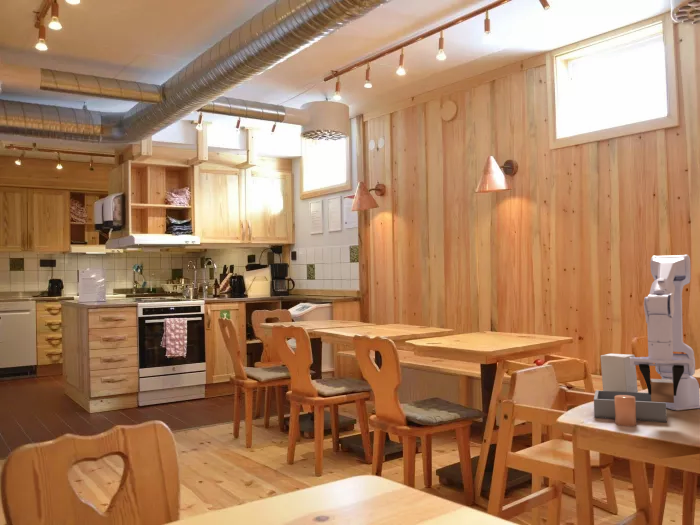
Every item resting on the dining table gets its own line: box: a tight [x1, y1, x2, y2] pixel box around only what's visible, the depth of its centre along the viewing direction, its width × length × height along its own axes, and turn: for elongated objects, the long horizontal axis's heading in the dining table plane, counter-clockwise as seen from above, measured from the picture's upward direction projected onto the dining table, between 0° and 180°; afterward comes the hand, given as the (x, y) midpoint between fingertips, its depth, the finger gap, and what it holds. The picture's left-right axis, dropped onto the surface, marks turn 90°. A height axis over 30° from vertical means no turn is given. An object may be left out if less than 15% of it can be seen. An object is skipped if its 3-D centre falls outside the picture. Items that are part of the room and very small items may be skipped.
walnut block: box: [650, 378, 674, 403], centre depth 159 cm, size 5×5×5 cm
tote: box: [593, 389, 667, 423], centre depth 172 cm, size 18×14×5 cm
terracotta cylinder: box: [614, 395, 637, 427], centre depth 163 cm, size 5×5×7 cm
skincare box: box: [600, 353, 639, 392], centre depth 186 cm, size 8×6×15 cm
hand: (662, 394), depth 159 cm, fingers closed on walnut block, 5 cm apart
